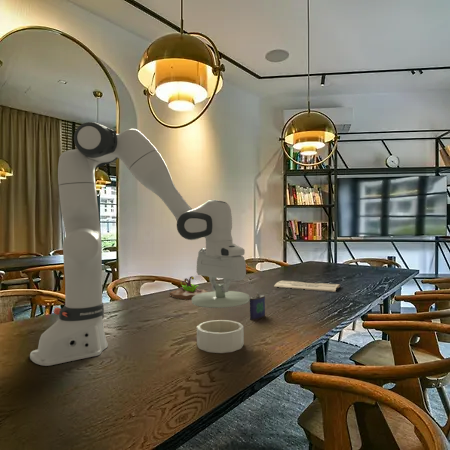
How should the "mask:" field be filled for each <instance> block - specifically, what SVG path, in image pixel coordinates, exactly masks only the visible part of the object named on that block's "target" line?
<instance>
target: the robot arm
mask: <svg viewBox="0 0 450 450" xmlns="http://www.w3.org/2000/svg"><path fill="white" fill-rule="evenodd" d="M73 142H74V145H75V147H76V148H75V149H69V150H68V149H67V150H65V151H64V152H62V153H61V154H60V155H59V157H58V164H57V182H58V183H57V186H58V194H59V202H60V204H59V205H60V211H61V217H62V222H63V228H64V234H65V237H64V239H63V242H62V252H63V253H62V255H63V256H62V257H63V271H64V283H65V284H64V289H65V290H64V291H65V292H64V293H65V295H64V296H65V298H64V300H65V305H64V306H63V307H62V308H60V307H55V308H54V309H53V313H54V315H56V316H57V315H58V316H59V317H58V320H57V321H55V322H54V323H53V324H52V325H50V327H48V328H47V329H46V330H45V331H44V332H42V333H41V335H40V337H39V340H38V347H37V349H35V350H34V349H33V350H32V351H31V352H30V354H29V360H30V361H32V362H33V363H34V364H36V365H40V366H45V367H47V366H48V367H50V366H53V365H58V364H62V363H63V364H64V363H67V362H71V361H72V362H74V361H78V360H81V359H88V358H91V357H97V356H100V355H101V354H102V352H103V351H104V350H106V349H107V347H108V346H109V344H108V341H107V337H106V333H105V327H104V317H105V316H104V315H105V308H104V307H105V306H104V302H103V269H102V268H103V267H102V266H103V265H102V263H103V262H102V260H103V259H102V258H103V257H102V255H103V254H102V252H103V251H102V249H103V248H102V244H103V243H102V234H101V233H102V232H101V224H100V223H101V222H100V214H99V205H98V196H97V184H96V177H95V171H96V168H101V167H104V166H106V165H109V164H112V163H114V162H115V161H117V160H118V159H119V160H120V161H122V162H123V164H124V165H125V166H126V168H127V169H128V170H129V172H130V173H131V174H132V175H133V177H134V178H135V179H136V180H137V181H138V182H139V183H140V185H142V186H144V187H145V188H146V189H147V190H149V191H151V192H152V193H154V194H155V195H156V196H157V197H158V198H159V199H161V201H162V202H164V204H165V206H166V207H167V208H168V210H169V211H170V213H172V215H173V216H174V218H175V219H176V229H177V232H178V234H179V235H180V236H181V237H182V238H183V239H186V240H188V241H196V240H199V239H201V238H204V239H205V248H201V249H199V251H198V255H197V260H196V273H197V275H198V276H202V277H208V278H209V279H208V280H209V283H210V284H211V291H216V290H215V285H216V284H218V283H217V279H222V280H223V282H224V283H223V284H224V286H223V287H222V292H225V293H226V292H228V291H230V290H229V287H230V284H231V283H232V281H242V280H245V278H246V276H247V267H246V259H245V257H244V255H245V248H243V247H241V246H239V245H237V244H235V243H233V237H232V229H233V217H232V209H231V207H230V205H229V203H227V202H226V201H222V200H218V199H209V200H207V201H206V202H204V203H203V204H201V205H199V206H197V207H195V208H192V207H191V206H190V205H189V204H188V202H187V201H186V200H185V199H184V197H183V196H182V194H181V193H180V192H179V190H178V189H177V187H176V186H175V184H174V181H173V179H172V175H171V173H170V170H169V168H168V166H167V163H166V162H165V160H164V159H163V157H162V155H161V153H160V152H159V151H158V149H157V148H156V147H155V145H154V144H153V143H152V142H151V141H150V140H149V139H148V138H147V137H146V136H145V135H144V134H143V133H142V132H141V131H140V130H138V129H136V128H127V129H125V130H122V131H121V132H120V133H116V131H115V129H112V128H110V127H107V126H106V125H103V124H101V123H97V122H95V121H94V122H93V121H92V122H91V121H89V122H84V123H82V124H80V125H79V126H77V128H76V130H75V131H74V134H73Z"/></svg>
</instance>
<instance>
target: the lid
mask: <svg viewBox="0 0 450 450" xmlns="http://www.w3.org/2000/svg"><path fill="white" fill-rule="evenodd" d="M223 286H224V283H217V284H216V285H215V290H216V291H214V290H212V291H208V292H206V293H201V294H197V295H195V296H193V297H192V299H191V304H192V305H194V306H197V307H198V308H199V307H200V308H207V309H208V308H209V309H225V308H233V307H234V308H235V307H239V306H243V305H245V304H248V303H250V294H248V293H246V292H242V291H236V290H229V291H228V292H226V293H225V292H222V287H223Z"/></svg>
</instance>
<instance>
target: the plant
mask: <svg viewBox="0 0 450 450" xmlns="http://www.w3.org/2000/svg"><path fill="white" fill-rule="evenodd" d="M194 279H195V277H194V276H190V277H189V278H184V280H182V281H180V285H181V287H179V288H177V289H176V290H173V291H170V292H169V296H170V295H171V296H173V297H175V298H174V299H178V298H180V300H185V299H186V300H192V297H193V296H195V295H197V294H201V293H206V292H209V291H208V290H206V289H199V288H197V287H199V284H197V285H196V284H195V283H191V280H194ZM183 283H185V285H184V284H183ZM171 296H170V297H171ZM173 297H172V298H173Z"/></svg>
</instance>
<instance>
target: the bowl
mask: <svg viewBox="0 0 450 450" xmlns="http://www.w3.org/2000/svg"><path fill="white" fill-rule="evenodd" d="M244 328H245V327H244V325H243V324H242V323H240V322H239V321H235V320H228V319H218V320H217V319H216V320H207V321H204V322H200V323H199V324H197V326H196V346H197V348H198V349H199V350H201V351H204V352H207V353H214V354H215V353H216V354H225V353H233V352H235V351H238V350H241V349H242V348H243V346H244V343H245V339H244V338H245V336H244V332H245V331H244V330H245V329H244ZM218 332H222V333H218Z"/></svg>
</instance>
